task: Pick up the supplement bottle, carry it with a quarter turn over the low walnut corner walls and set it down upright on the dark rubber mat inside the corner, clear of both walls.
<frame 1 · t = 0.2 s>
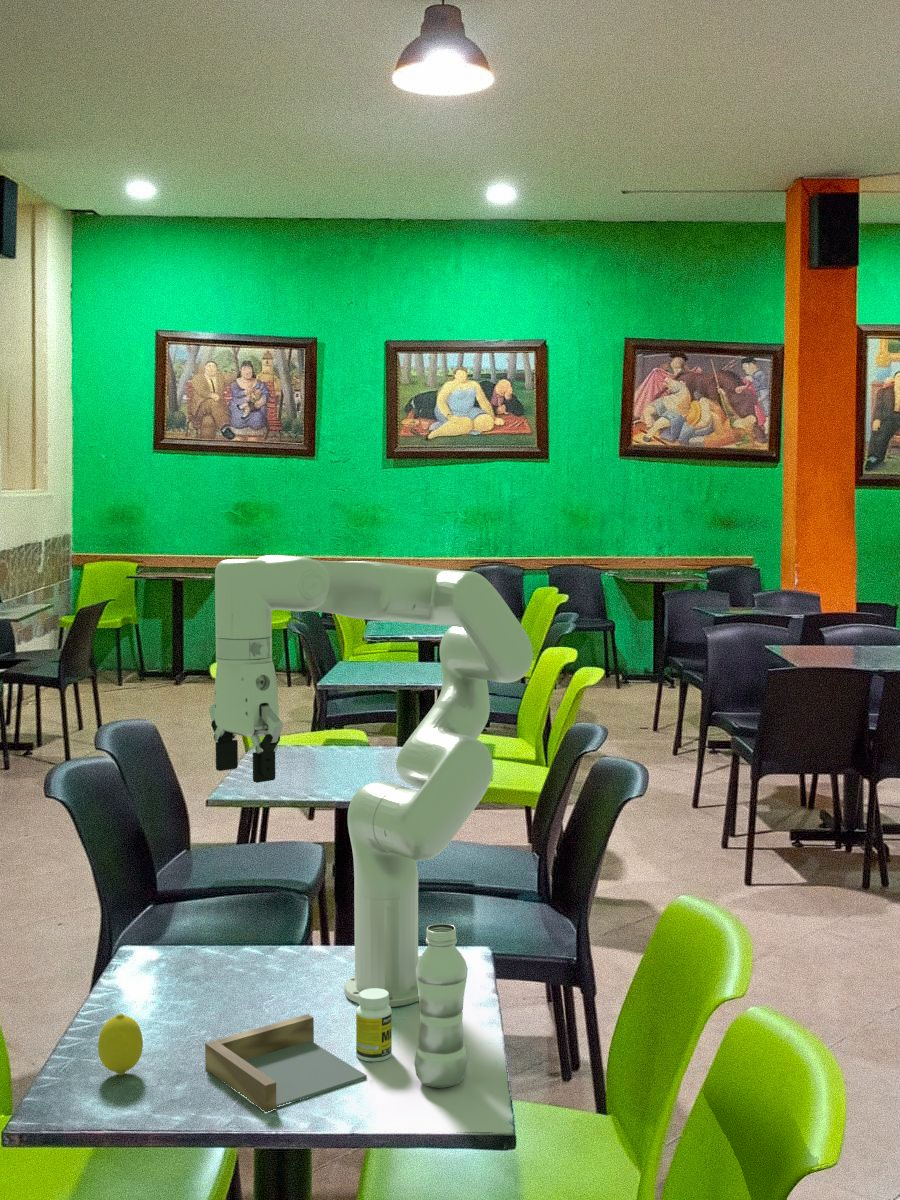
hand: (245, 775, 176), 36 cm above the table, tool pointing down, fingers open, 9 cm apart
mat: (293, 1074, 166), on the table
corner walls: (288, 1074, 166), resting in mat
plastic bottle: (440, 1084, 164), on the table
supplement bottle: (374, 1056, 172), on the table
lemon: (121, 1076, 166), on the table
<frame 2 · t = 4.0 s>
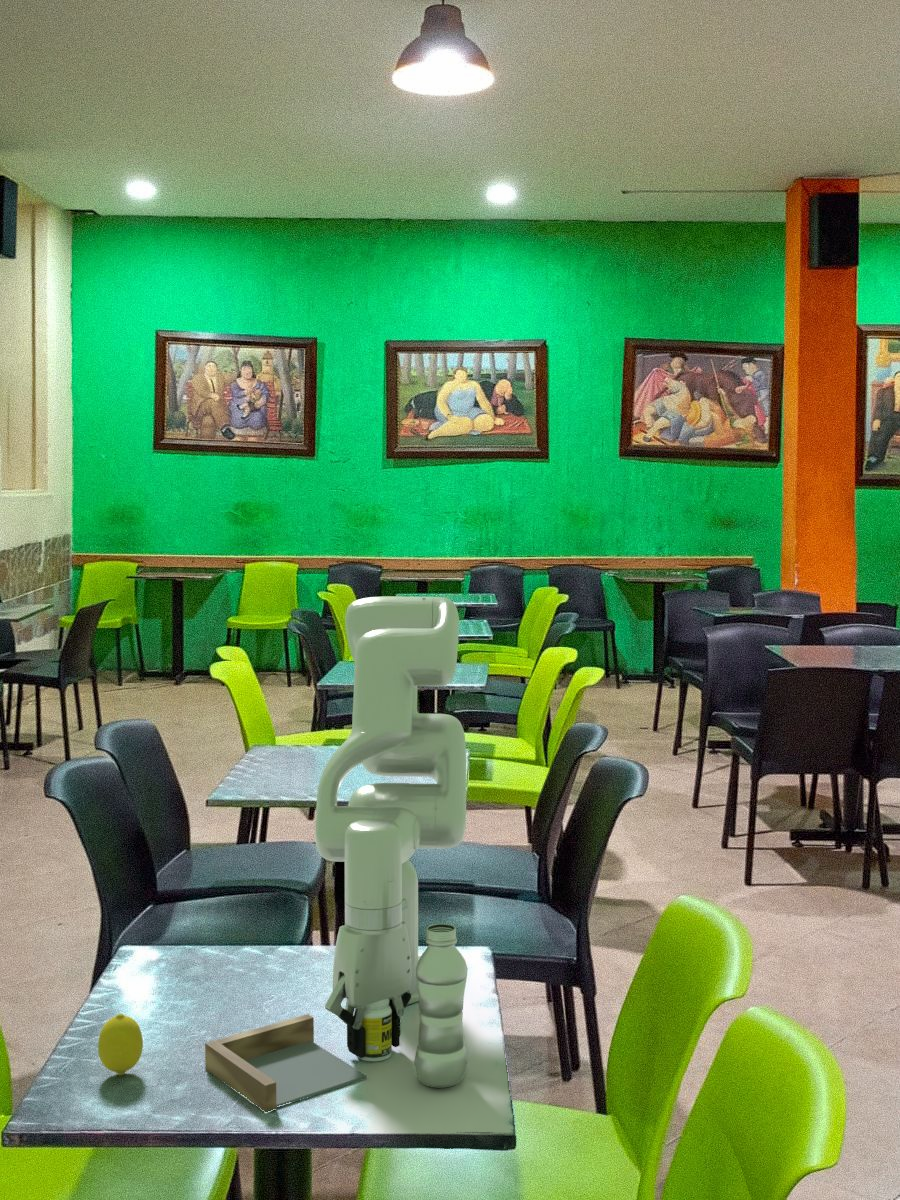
hand: (374, 1047, 172), 1 cm above the table, tool pointing down, fingers closed on supplement bottle, 4 cm apart
supplement bottle: (374, 1056, 172), on the table, touching gripper
everything else where it was.
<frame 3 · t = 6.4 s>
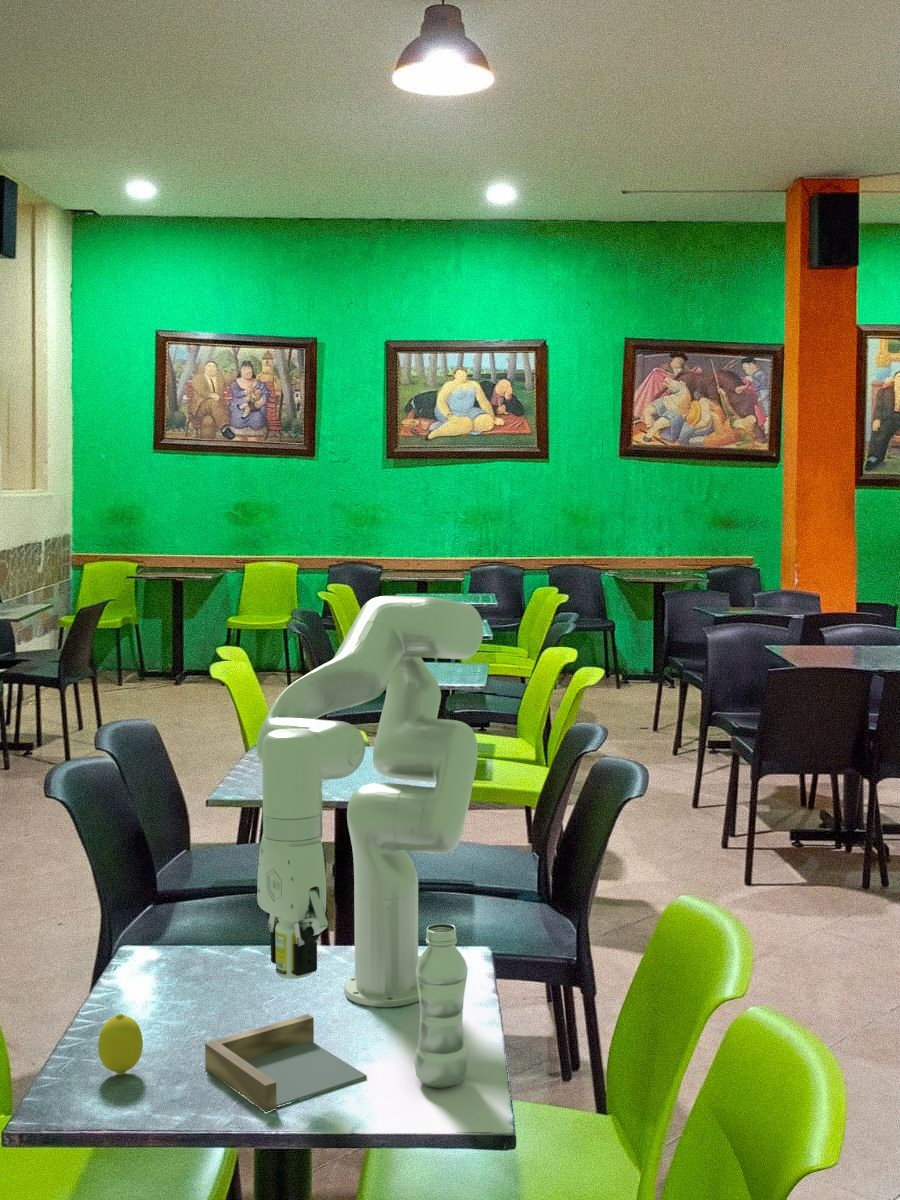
hand: (293, 965, 166), 14 cm above the table, tool pointing down, fingers closed on supplement bottle, 4 cm apart
supplement bottle: (294, 974, 166), point 13 cm above the table, touching gripper
everything else where it was.
when the fingers open (3 cm above the table, at t = 9.1 s): supplement bottle drops 1 cm, resting on mat.
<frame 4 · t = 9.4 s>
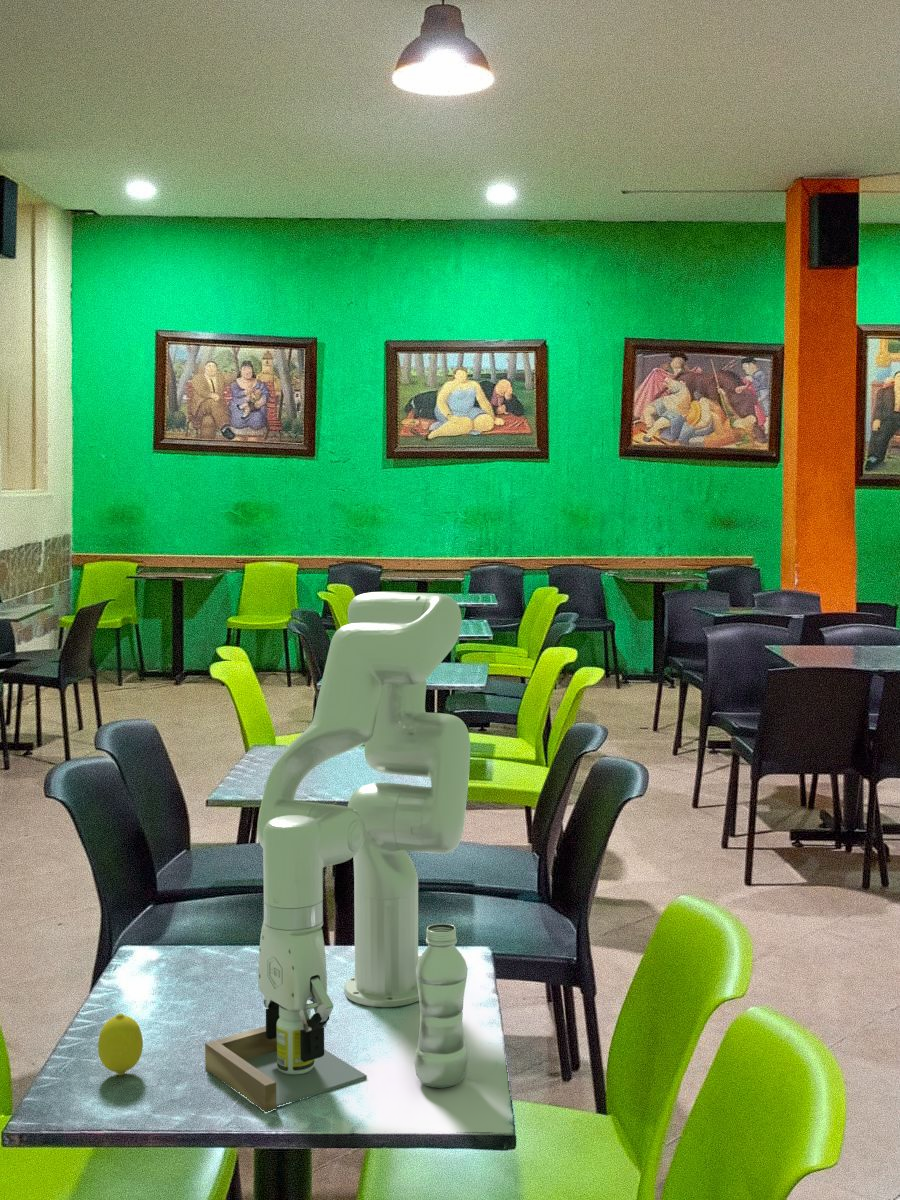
hand: (294, 1046, 166), 3 cm above the table, tool pointing down, fingers open, 8 cm apart
supplement bottle: (295, 1069, 167), resting on mat
everything else where it was.
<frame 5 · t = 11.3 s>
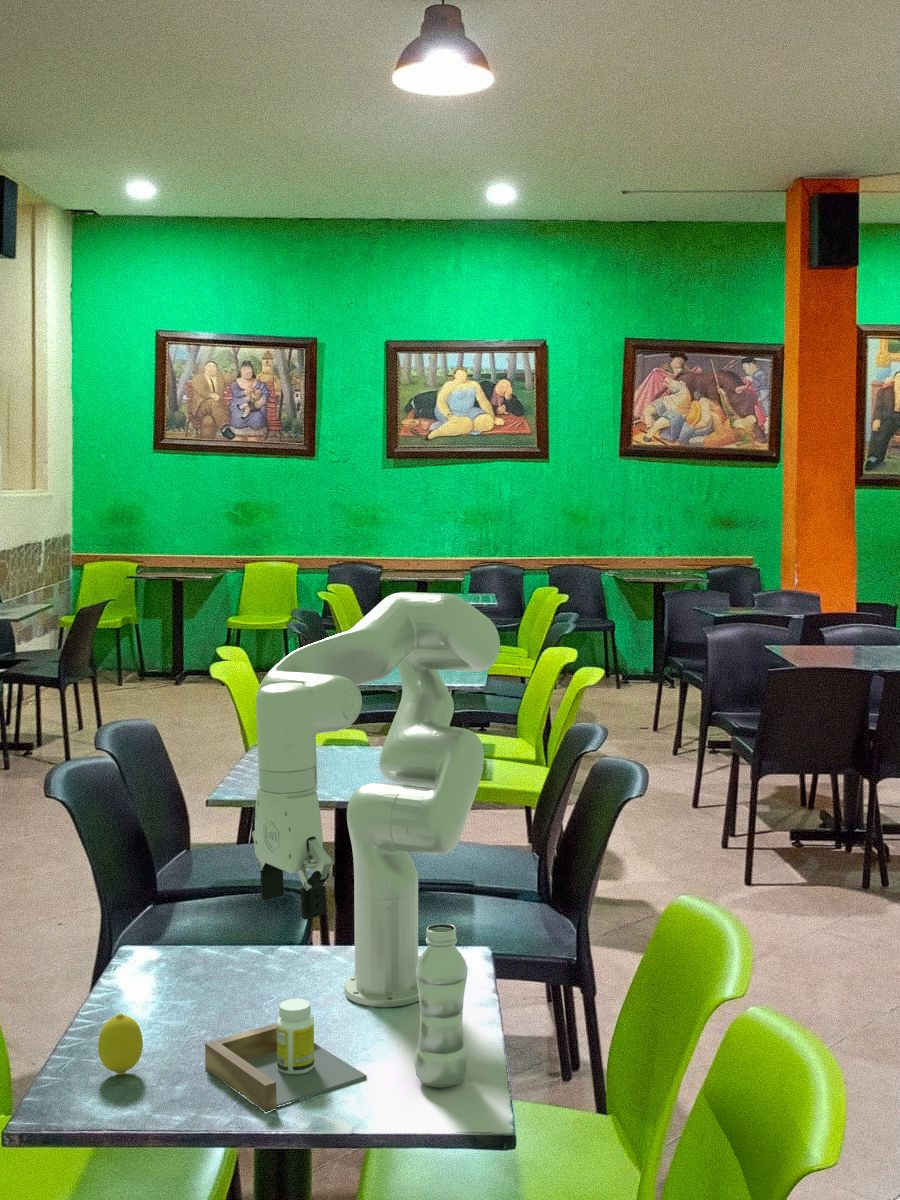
hand: (292, 906, 169), 20 cm above the table, tool pointing down, fingers open, 9 cm apart
nothing on the table moved.
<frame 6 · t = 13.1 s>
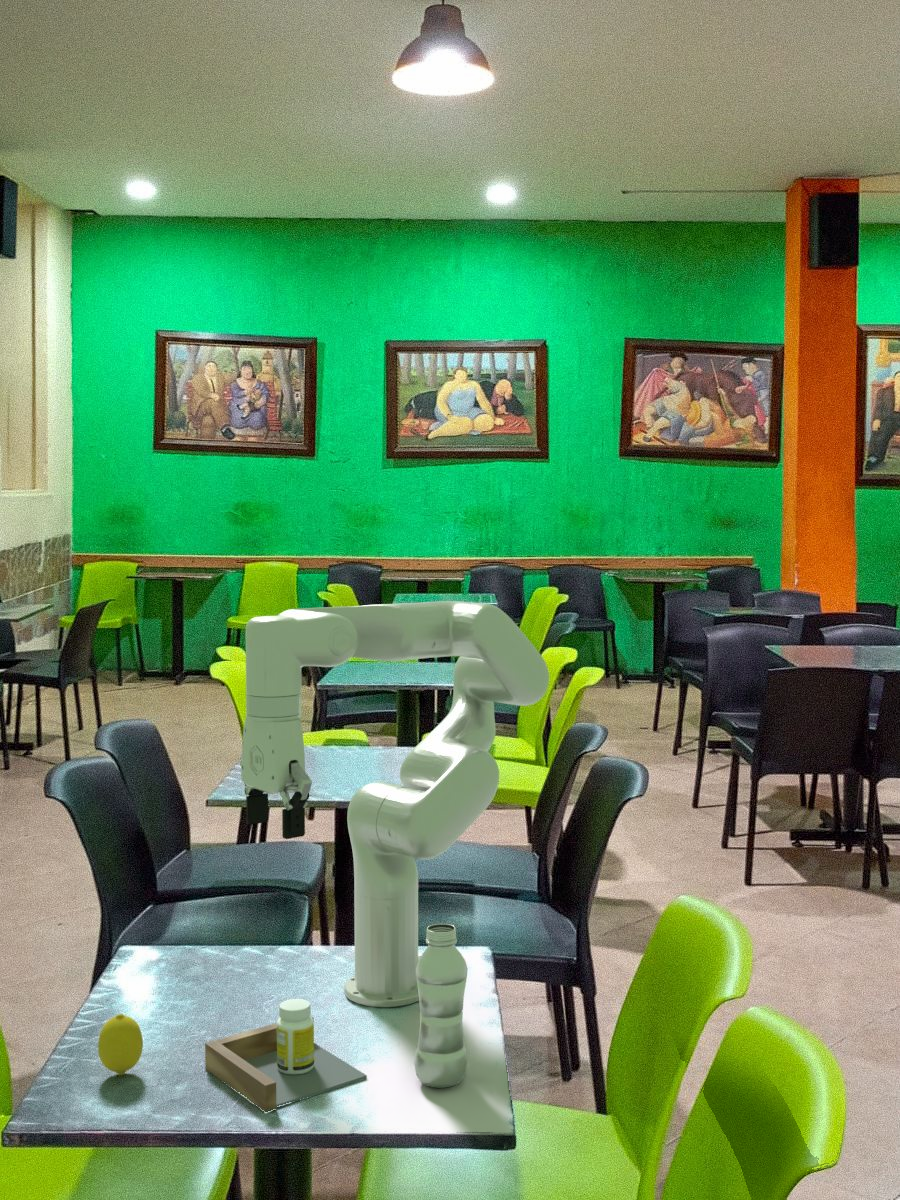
hand: (275, 829, 178), 28 cm above the table, tool pointing down, fingers open, 9 cm apart
nothing on the table moved.
at the end: supplement bottle inside the target area on the mat (0.7 cm from its centre), point 0.2 cm above the mat's base; supplement bottle touching mat; supplement bottle tilted 0° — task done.
